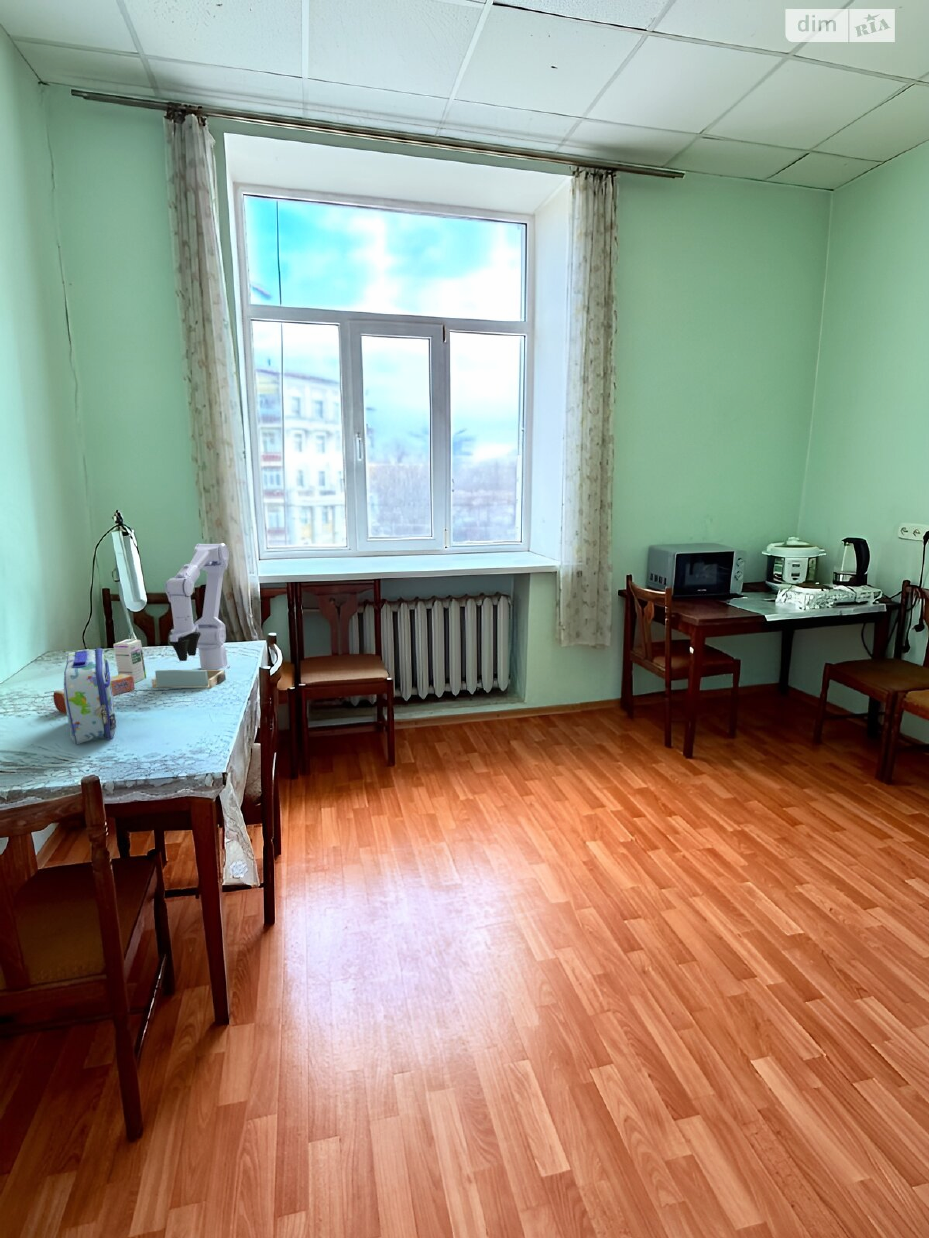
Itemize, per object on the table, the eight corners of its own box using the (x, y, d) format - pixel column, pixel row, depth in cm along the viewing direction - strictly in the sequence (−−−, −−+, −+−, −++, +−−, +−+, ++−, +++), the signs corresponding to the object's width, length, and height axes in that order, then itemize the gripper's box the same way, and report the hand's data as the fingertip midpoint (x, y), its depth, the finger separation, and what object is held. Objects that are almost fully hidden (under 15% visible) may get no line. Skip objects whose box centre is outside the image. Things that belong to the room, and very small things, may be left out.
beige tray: (166, 681, 211) (165, 669, 210) (229, 681, 210) (227, 670, 209) (150, 691, 201) (148, 679, 201) (215, 692, 200) (214, 679, 199)
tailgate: (158, 685, 202) (156, 670, 201) (208, 685, 201) (206, 670, 200) (157, 686, 201) (155, 671, 200) (207, 686, 200) (205, 671, 199)
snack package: (125, 690, 204) (122, 670, 202) (137, 694, 200) (134, 673, 199) (54, 711, 187) (50, 689, 185) (65, 716, 183) (62, 693, 181)
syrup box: (135, 687, 206) (129, 643, 202) (119, 686, 207) (112, 643, 203) (147, 682, 211) (141, 639, 208) (131, 681, 212) (125, 638, 209)
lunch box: (119, 742, 164) (107, 663, 159) (70, 752, 159) (56, 670, 154) (116, 710, 186) (105, 640, 181) (73, 718, 181) (61, 646, 176)
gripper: (181, 611, 208) (186, 651, 211) (158, 621, 194) (163, 664, 197) (202, 611, 208) (207, 651, 211) (180, 621, 194) (185, 664, 197)
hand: (187, 658), depth 204 cm, fingers open, 5 cm apart
